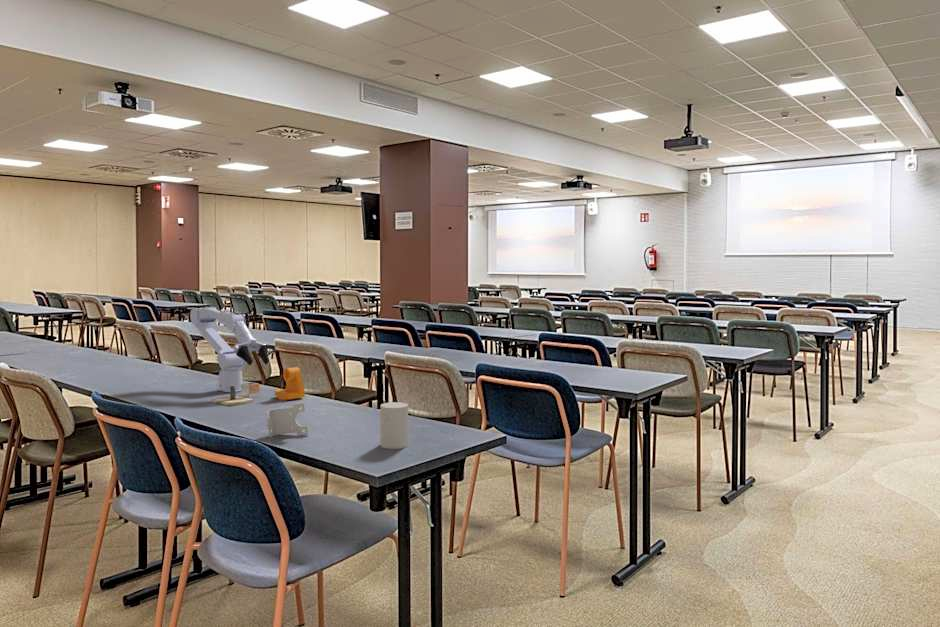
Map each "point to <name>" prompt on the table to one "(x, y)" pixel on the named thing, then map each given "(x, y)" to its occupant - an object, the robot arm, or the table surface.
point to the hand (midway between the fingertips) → (259, 362)
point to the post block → (232, 399)
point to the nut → (250, 390)
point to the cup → (394, 425)
